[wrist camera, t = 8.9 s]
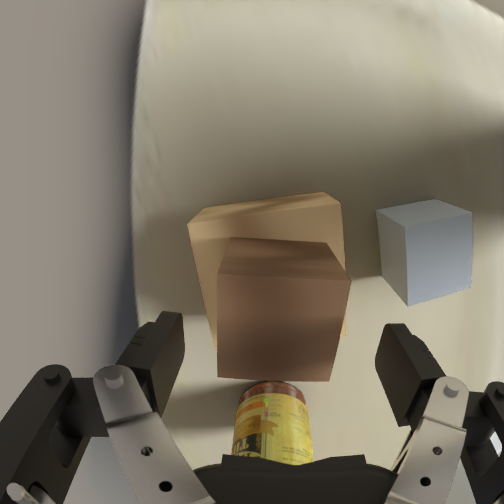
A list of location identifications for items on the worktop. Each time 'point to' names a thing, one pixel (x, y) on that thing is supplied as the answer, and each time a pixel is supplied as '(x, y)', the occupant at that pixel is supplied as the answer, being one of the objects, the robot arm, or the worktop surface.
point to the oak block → (261, 234)
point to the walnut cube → (279, 310)
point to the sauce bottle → (273, 424)
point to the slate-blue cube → (425, 249)
